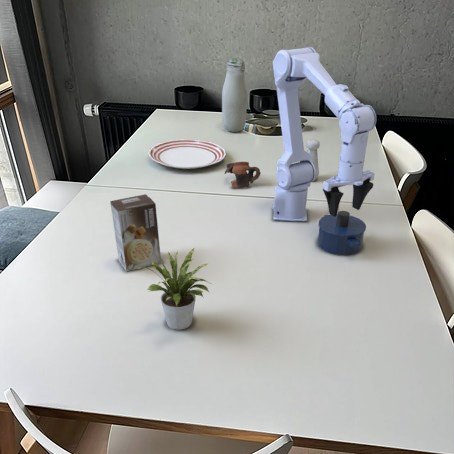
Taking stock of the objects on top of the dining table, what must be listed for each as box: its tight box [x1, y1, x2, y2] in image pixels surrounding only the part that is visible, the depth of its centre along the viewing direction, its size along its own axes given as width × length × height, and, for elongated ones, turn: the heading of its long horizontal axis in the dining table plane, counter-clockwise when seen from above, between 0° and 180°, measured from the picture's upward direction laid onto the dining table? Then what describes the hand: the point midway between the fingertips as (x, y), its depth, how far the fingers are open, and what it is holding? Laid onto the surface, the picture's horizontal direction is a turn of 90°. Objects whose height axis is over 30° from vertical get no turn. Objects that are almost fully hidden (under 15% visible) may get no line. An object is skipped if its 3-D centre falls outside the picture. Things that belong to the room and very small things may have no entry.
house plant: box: [137, 247, 212, 331], centre depth 102 cm, size 14×14×16 cm
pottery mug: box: [224, 161, 261, 189], centre depth 168 cm, size 12×10×8 cm
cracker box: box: [110, 193, 162, 272], centre depth 123 cm, size 9×6×16 cm
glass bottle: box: [221, 57, 248, 133], centre depth 207 cm, size 10×10×28 cm
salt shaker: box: [305, 138, 321, 182], centre depth 169 cm, size 6×6×13 cm
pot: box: [317, 214, 365, 256], centre depth 134 cm, size 11×17×5 cm
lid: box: [318, 210, 367, 237], centre depth 132 cm, size 12×12×4 cm
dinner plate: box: [148, 138, 227, 170], centre depth 185 cm, size 28×27×3 cm
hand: (344, 211), depth 131 cm, fingers open, 7 cm apart
